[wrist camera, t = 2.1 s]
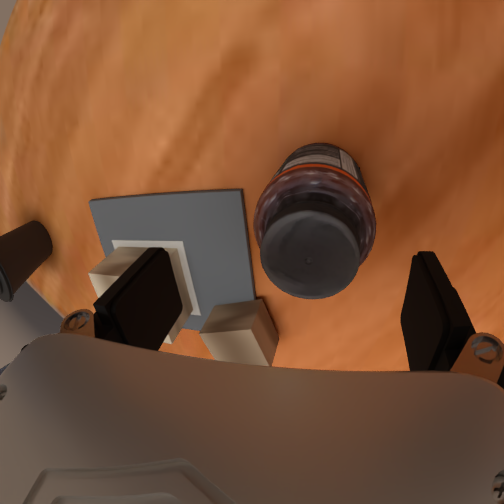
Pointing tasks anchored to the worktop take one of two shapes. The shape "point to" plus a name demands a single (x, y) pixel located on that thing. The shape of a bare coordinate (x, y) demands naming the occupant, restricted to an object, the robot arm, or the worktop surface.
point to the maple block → (123, 260)
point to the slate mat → (187, 240)
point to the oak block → (241, 333)
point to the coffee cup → (22, 256)
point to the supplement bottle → (315, 222)
